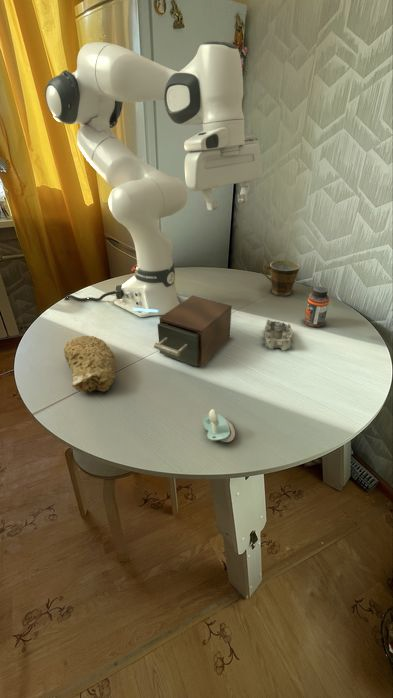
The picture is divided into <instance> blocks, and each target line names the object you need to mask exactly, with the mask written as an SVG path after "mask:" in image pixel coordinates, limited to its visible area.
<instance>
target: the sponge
mask: <svg viewBox="0 0 393 698" xmlns="http://www.w3.org/2000/svg"><path fill="white" fill-rule="evenodd" d="M63 353H64V358H65V360H66V363H67V364H68V366H69V368H70V370H71V372H72V374H71V383H72V384H71V385H72V387H73V388H74V389H75V390H76V391H79V392H80V393H82V392H93V391H96V390H97V391H100V392H104V393H105V392H106V391H109V389H110V388H111V386H112V385H113V383H114V380H115V377H116V373H115V369H116V356H115V353H114V352H113V351H112V350H111V348H110V346H109V345H108V344H107V343H106V342H105V341H104V340H103V339H101V338H98V337H96V336H94V335H81V336H78V337H76V338H74V339H71V340H69V341H68V342H66V344H65V345H64V348H63Z"/></svg>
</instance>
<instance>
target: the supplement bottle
mask: <svg viewBox="0 0 393 698" xmlns="http://www.w3.org/2000/svg"><path fill="white" fill-rule="evenodd" d="M328 292H329V290H328V288H326V286H314V287H313V290H312V293H310V294H309V295H308V296H307V297H308V298H307V302H306V308H305V313H304V319H303V322H304V324H306V326H309V327H312V328H320V327H323V326H324V325H325V322H326V317H327V312H328V308H329V303H330V297H329V296H328Z"/></svg>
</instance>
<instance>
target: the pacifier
mask: <svg viewBox="0 0 393 698" xmlns="http://www.w3.org/2000/svg"><path fill="white" fill-rule="evenodd" d="M208 421H209V423H208ZM202 424H203V427H204V429H205V430H206V431H207V434H206V436H207V439H208V440H210V441H212V442H213V441H221V442H223V443H230V442H232V441H233V440H234V439H235V437H236V430H235V428H234V425H233V423H231V421H229V420H228V419H225V418H224V417H223V415H221V414H219V413H217V412H216V411H215V409H214V408H212V409H210V411H209V412H207V413H205V415H204V416H203V418H202Z"/></svg>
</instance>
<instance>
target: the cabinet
mask: <svg viewBox="0 0 393 698" xmlns="http://www.w3.org/2000/svg"><path fill="white" fill-rule="evenodd" d="M179 303H180V304H179V305H178V306H176V307H175V308H173V309H172V310H170V311H169V312H167V313H166V314H164V315H160V317H158V319H159V323H163V324H166V323H169V324H172V325H175V326H179V327H182V328H185V329H188V330H191V331H195V332H198V333H199V359H198V360H199V364H198V365H197V366H198V367H203V366H205V364H207V362H208V361H209V360H211V358H212V357H213V356H214V355H215V354H217V352H219V350H221V349H222V347H223V346H225V344H227V342H229V340H230V339H231V329H232V328H231V327H232V307H233V306H232V305H231V304H227V303H223V302H219V301H215V300H212V299H209V298H208V299H207V298H205V297H201V296H197V295H190V296H189V297H188V298H186V299H185V300H183V301H181V302H179Z"/></svg>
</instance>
